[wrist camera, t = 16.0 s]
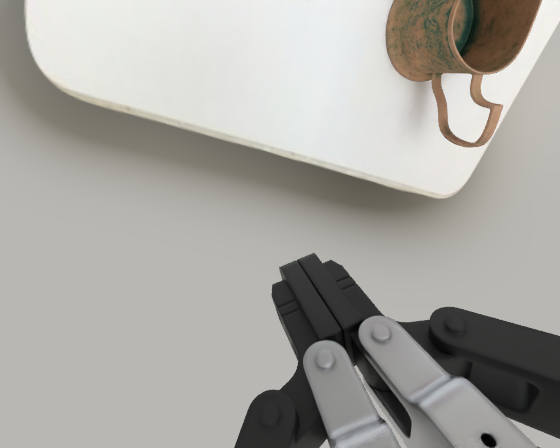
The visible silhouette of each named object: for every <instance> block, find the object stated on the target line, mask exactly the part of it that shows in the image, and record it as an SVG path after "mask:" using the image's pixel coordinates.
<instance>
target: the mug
mask: <svg viewBox="0 0 560 448" xmlns="http://www.w3.org/2000/svg"><path fill="white" fill-rule="evenodd" d="M541 2H542V0H394V2H393V4H392V7H391V10H390V13H389V17H388V21H387V28H386V44H387V50H388V54H389V57H390V60H391V62H392V64H393V66H394V67H395V69H396V70H397V71H398V72H399V73H400V74H401V75H402V76H404V77H405V78H407V79H410V80H413V81H428V80H432V89H433V92H434V95H435V98H436V101H437V106H438V121H439V127H440V131H441V133H442V134H443V135H444V137H445V138H446V139H447V140H449V141H450V142H452V143H454V144H456V145H459V146H463V147H479V146H482V145H484V144H485V143H486V142H488V140H489V139H490V138H491V136H492V135H493V133H494V131H495V128H496V126H497V123H498V120H499V118H500V114H501V111H502V108H503V105H500V104H494V103H490V102H488V101H486V100H485V99H484V98H483V96H482V94H481V81H482V76H483V74H493V73H497V72H499V71H501V70H503V69H504V68H506V67H507V66H508V65H510V64H511V63H512V62H513V60H514V59H515V58H516V57H517V55H518V54H519V53H520V51H521V49H522V47H523V46H524V44H525V42H526V39H527V37H528V35H529V33H530V30H531V28H532V25H533V23H534V21H535V18H536V15H537V13H538V10H539V7H540V5H541ZM443 73H469V74H472V79H471V85H470V93H471V97H472V99H473V101H474V102H475V103H476V104H478V105H480V106H482V107H486V108H489V109H490V114H489V118H488V121H487V124H486V126H485V129H484V131H483V133H482V135H481V137H480V138H479V139H478V140H477V141H476V142H475V143H470V142H466V141H463V140H461V139H459V138H458V137H456V136H455V135H454V134H453V133H452V132H451V131H450V128H449V126H448V116H447V103H446V99H445V96H444V93H443V90H442V87H441V75H442V74H443Z"/></svg>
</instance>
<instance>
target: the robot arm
mask: <svg viewBox="0 0 560 448" xmlns="http://www.w3.org/2000/svg"><path fill="white" fill-rule="evenodd" d="M279 269H280V273H281V276H282V281H280V282H278V283H275V284H273V285H272V298H273V302H274V304H275V307H276V310H277V313H278V316H279V319H280V322H281V324H282V326H283V329H284V331H285V333H286V335H287V337H288V340H289V342H290V344H291V346H292V349H293V351H294V353H295V355H296V358H297V360H298V366H297V370H296V372H295V374H294V375H293V377H292V378H291V379H290V380H289V382H287V383H286V384H285V385H284V386H283V387H282V388H281V389H280V390H268V391H265V392H263V393H261V394H260V395H258V396H257V397H256V398H255V399H254V400H253V401H252V403H251V405H250V406H249V409H248V411H247V414H246V417H245V420H244V423H243V425H242V428H241V431H240V433H239V436H238V439H237V442H236V445H235V447H234V448H319V447H320V446H321V445H322V444H323V443H324V441H325V440H326V439H327V440H328V443H329V445H330V448H401V447H400V445H399V443H398V441H397V440H396V438H395V435H394V434H393V432H392V430H391V428H390V427H389V425H388V424H387V423H386V421H385V420H384V419H382V418H381V417H380V416H379V414H378V412H377V410H376V409H375V407H374V405H373V403H372V401H371V399H370V397H369V395H368V393H367V392H366V389H365V387H364V385H363V383H362V382H361V379H360V378H359V375H358V374H357V372H356V370H355V368H354V366H355V365H357V367H358V368H359V370H360V372H361V373H362V375H363V381H364V384H365V386H366V388H367V390H368V391H369V392H370V394H371V395H372V397H373V398H374V399H375V401H376V402H377V404H378V405H379V406H380V408H381V409H382V411H383V412H384V414H385V415H386V417H387V418H388V419H389V421H390V422H391V424H392V425H393V427H394V428H395V429H396V431H397V432H398V434H399V435H400V436H401V438H402V439H403V441H404V443H405V444H406V446H407V448H539V447H537V446H536V445H535V444H534V443H533V442H531V441H530V439H529V438H527V437H526V436H525V435H524V434H523V433H522V432H521V431H520V430H519V429H518V428H517V427H516V426H515V425H514V424H513V423H512V422H511V421H510V420H509V419H508V418H510V419H513V420H515V421H518V422H520V423H523V424H525V425H527V426H530V427H532V428H535V429H537V430H540V431H542V432H544V433H547V434H549V435H552V436H554V437H556V438H559V439H560V336H557V335H554V334H550V333H546V332H543V331H539V330H536V329H532V328H528V327H525V326H521V325H517V324H514V323H510V322H507V321H503V320H499V319H496V318H492V317H488V316H485V315H481V314H478V313H474V312H470V311H467V310H463V309H459V308H455V307H443V308H439V309H437V310H435V311H434V312H433V313H432V315H431V317H430V320H424V321H416V322H397V321H395V320H393V319H391V318H389V317H386V316H384V315H383V314H382V313H381V312H380V311H379V310H378V309H377V308H376V307H375V305H374V304H373V303H372V302H371V300H370V299H369V298H368V297H367V295H366V294H365V293H364V292H363V291H362V290H361V288H360V287H359V286H358V285H357V284H356V282H355V281H354V280H353V279H352V277H350V275H349V274H348V272H347V271H346V270H345V269H344V268H343V266H341V265H339V264H337V263H336V262H334V261H332V260H330V261H327V262H325V263H323V264H322V262H321V261H320V260H319V258H318V257H317V256H316V254H315V253H312V254H310V255H308V256H305V257H303V258H300V259H298V260H297V261H293V262H291V263H288V264H286V265H284V266H281V267H279ZM507 417H508V418H507Z"/></svg>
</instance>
